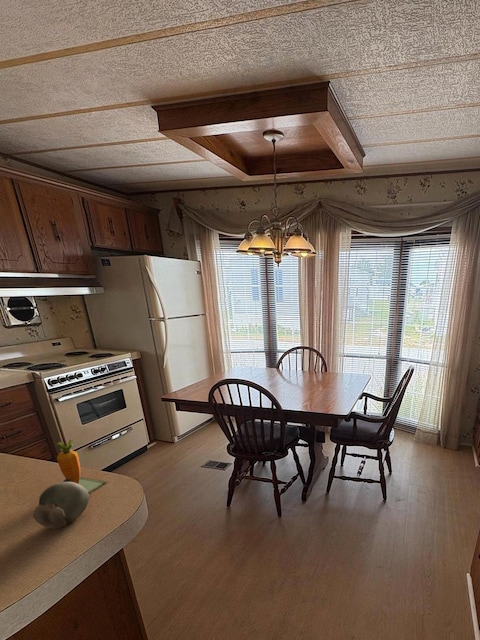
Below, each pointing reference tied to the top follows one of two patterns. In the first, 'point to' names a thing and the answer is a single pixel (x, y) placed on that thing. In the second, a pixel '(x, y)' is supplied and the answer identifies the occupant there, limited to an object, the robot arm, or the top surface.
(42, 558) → the top surface
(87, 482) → the tray
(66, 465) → the carrot
